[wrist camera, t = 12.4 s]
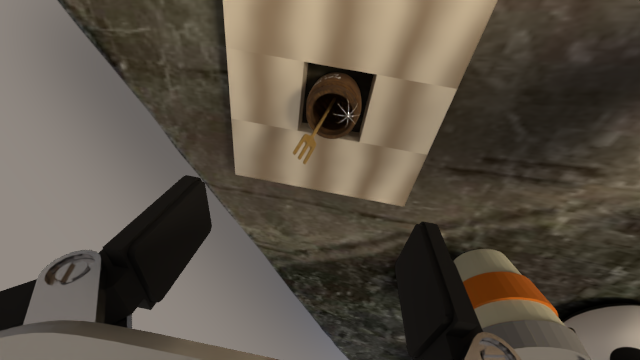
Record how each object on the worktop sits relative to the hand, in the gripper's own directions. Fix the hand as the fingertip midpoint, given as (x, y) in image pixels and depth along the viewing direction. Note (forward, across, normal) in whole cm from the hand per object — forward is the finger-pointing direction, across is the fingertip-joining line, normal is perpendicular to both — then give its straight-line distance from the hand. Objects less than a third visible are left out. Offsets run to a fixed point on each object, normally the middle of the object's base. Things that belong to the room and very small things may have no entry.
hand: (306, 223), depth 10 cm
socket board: (+22, 0, 0) cm, 22 cm away
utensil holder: (+22, 0, 0) cm, 22 cm away
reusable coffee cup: (+22, -30, +24) cm, 44 cm away
